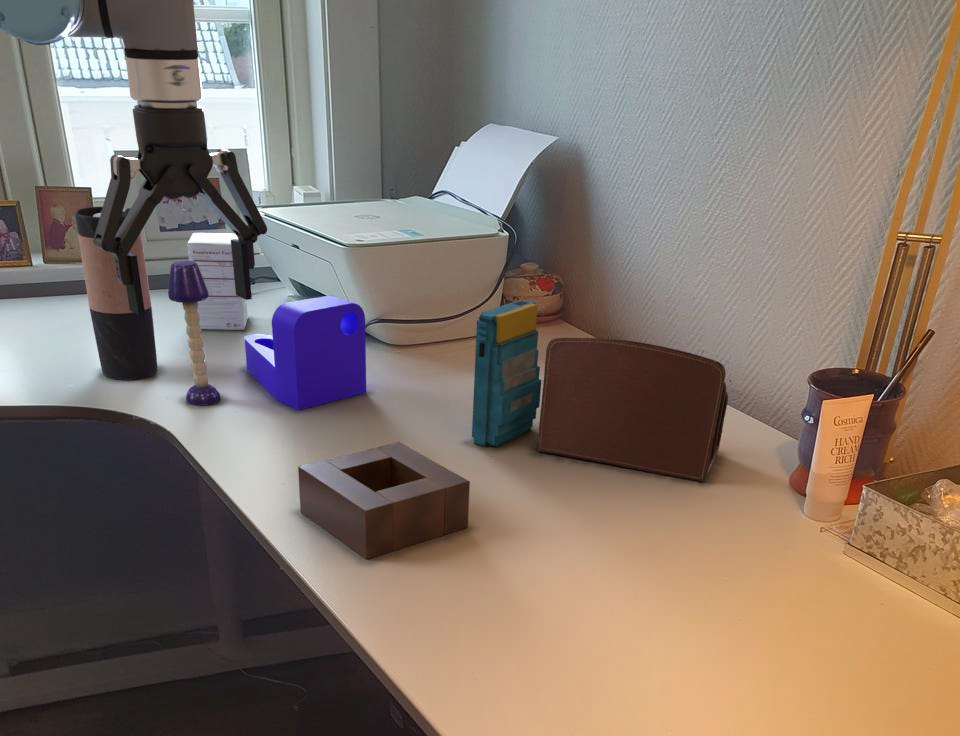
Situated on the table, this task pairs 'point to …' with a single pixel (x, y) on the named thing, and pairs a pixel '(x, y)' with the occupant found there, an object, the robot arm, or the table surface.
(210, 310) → the white packaging box
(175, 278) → the toy lamp
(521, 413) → the handheld gaming console
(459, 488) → the socket base
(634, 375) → the letter holder
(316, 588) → the table surface
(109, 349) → the travel mug
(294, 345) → the bracket
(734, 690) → the table surface
